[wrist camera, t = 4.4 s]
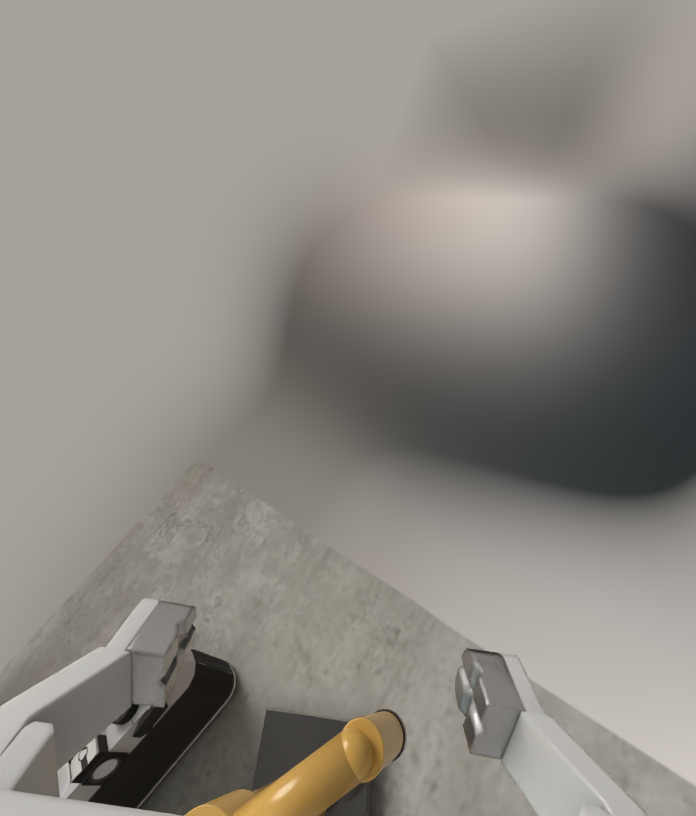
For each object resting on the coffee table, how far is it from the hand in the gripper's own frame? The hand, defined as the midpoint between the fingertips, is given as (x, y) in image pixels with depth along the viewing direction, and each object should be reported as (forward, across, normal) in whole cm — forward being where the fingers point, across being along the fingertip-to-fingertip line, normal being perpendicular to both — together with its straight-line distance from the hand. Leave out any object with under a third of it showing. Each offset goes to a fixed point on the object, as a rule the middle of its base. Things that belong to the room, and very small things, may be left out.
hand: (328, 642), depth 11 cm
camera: (+18, +14, +33) cm, 40 cm away
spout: (+9, -3, +22) cm, 24 cm away
